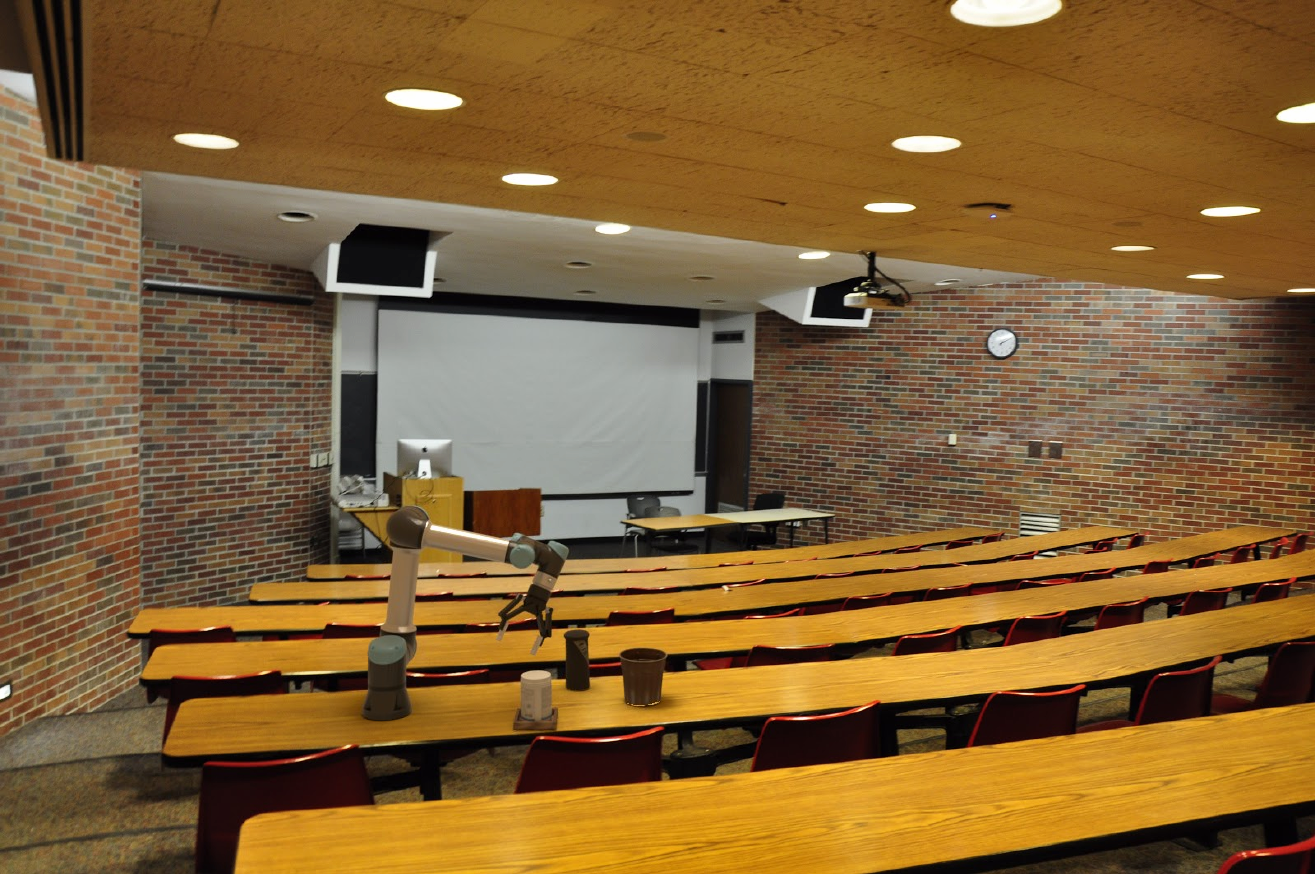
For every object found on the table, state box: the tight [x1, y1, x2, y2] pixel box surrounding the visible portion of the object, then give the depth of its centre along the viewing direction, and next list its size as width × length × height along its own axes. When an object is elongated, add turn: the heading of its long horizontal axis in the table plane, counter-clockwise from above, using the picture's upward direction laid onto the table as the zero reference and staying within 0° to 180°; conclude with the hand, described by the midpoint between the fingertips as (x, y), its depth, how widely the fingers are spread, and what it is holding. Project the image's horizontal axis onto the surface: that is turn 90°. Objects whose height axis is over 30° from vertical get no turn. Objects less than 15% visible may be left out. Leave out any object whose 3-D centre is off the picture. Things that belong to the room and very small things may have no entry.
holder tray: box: [512, 707, 559, 731], centre depth 288 cm, size 13×13×2 cm
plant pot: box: [618, 647, 668, 706], centre depth 310 cm, size 16×16×16 cm
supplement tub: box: [520, 669, 553, 721], centre depth 288 cm, size 10×10×15 cm
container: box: [563, 628, 591, 691], centre depth 323 cm, size 9×9×20 cm
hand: (515, 648), depth 302 cm, fingers open, 13 cm apart
